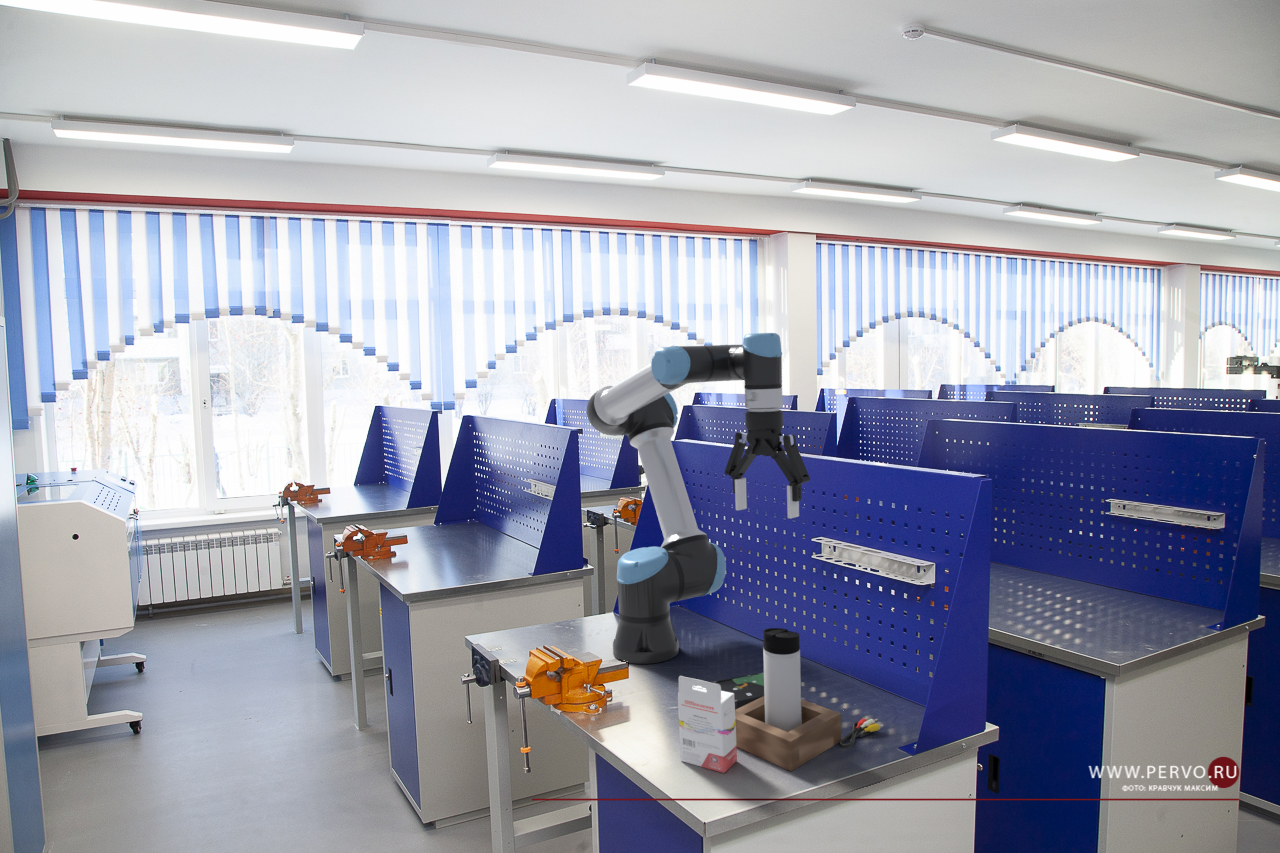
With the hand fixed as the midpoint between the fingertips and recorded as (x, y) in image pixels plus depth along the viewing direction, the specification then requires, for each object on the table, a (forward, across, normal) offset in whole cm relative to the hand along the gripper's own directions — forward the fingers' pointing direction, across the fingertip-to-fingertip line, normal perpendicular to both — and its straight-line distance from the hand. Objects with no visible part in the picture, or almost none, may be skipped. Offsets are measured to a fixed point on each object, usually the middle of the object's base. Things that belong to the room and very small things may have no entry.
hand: (766, 513), depth 161 cm
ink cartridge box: (+35, +14, -34) cm, 51 cm away
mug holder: (+35, +19, -20) cm, 44 cm away
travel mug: (+35, +19, -20) cm, 44 cm away
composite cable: (+35, +27, -10) cm, 45 cm away
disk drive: (+36, +2, -11) cm, 37 cm away
